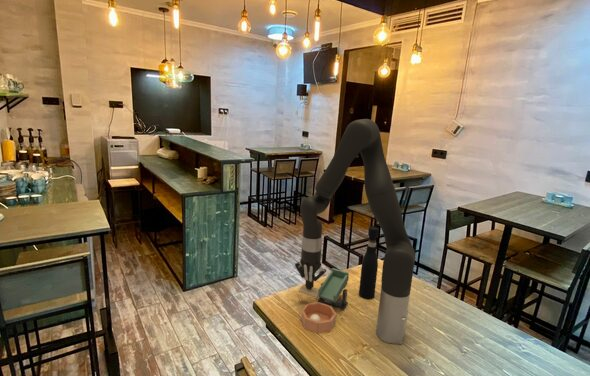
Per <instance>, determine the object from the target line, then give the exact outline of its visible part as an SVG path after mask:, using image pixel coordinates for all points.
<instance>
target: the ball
mask: <svg viewBox="0 0 590 376" xmlns="http://www.w3.org/2000/svg"><path fill="white" fill-rule="evenodd" d="M310 319H312V320H315V321H318V322H320V321H321V319H320V317H319V316H318V315H317V314H313V315H311V316H310Z"/></svg>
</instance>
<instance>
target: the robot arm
mask: <svg viewBox="0 0 590 376" xmlns="http://www.w3.org/2000/svg"><path fill="white" fill-rule="evenodd" d="M383 148H384V147H383V143H382V138H381V131H380V129H379V126H378V124H377V123H376V122H375V121H373V120H371V119H369V118H363V119H356V120H354V121H351V122H350V123H349V124H348V125H347V127H346V128H345V131H344V133H343V134H342V137H341V139H340V141H339V145H338V146H337V148H336V151H335V153H334V155H333V156H332V158H331V160H330V162H329V164H328V166H327V167H326V168H325V170H324V172H323V173H322V175H321V176H320V178H319V179H318V181H317V182H316V184H315V187H314V189H315V193H314V194H313V195H312V196H307V197H304V199H303V200H301V201H302V202H301V203H300V215H301V221H302V224H303V228H302V230H303V231H302V238H301V255H300V256H301V257H300V258H301V259H300V260H299V261H297V262H296V263H295V264H294V266H295V269H296V270H297V272H298V273H299V275H300V277H301V278H302V279H303V278H304V279H305V286H306V289H309V290H311V289H312V288H313V287H314V283H315V282H317V281H318V280H319V279H320V278H322V276H323V275H325V274H326V272H327V269H326V268H324V267H322V262H321V261H322V246H323V244H322V243H323V241H322V240H323V239H322V235H323V224H322V221H321V220H319V219H318V215H320V214H322V213H323V212H325V211H326V210H327V208H328V207H329V206H330V203H331V201H332V198H333V195H334V194H335V192H336V191H337V190H338V188H339V187H340V185H341V184H342V182H343V180H344V178H345V176H346V174H347V172H348V170H349V167H350V166H351V163H352V162H353V161H354V160H355V158H356V157H357V156H358V155H359V154H360V156H361V159H362V162H363V171H364V172H363V173H364V174H363V175H364V176H363V177H364V178H363V179H364V191H365V196H366V199H367V203H368V205H369V208H370V211H371V213H372V215H373V217H374V218H375V220H376V221H377V223H378V225H379V226H380V229H381V230H382V233H383V236H384V237H383V238H384V241H385V248H386V251H385V253H384V257H383V262H382V271H381V280H380V281H381V285H380V287H381V288H380V296H379V304H378V311H377V312H378V313H377V318H376V320H377V321H376V326H375V327H376V329H375V333H376V336H377V338H379V339H380V340H381V341H382V342H385V343H386V344H387V343H388V344H396V345H397V344H399V345H403V342H404V338H405V336H406V330H407V323H408V316H409V304H410V303H409V302H410V296H411V290H412V282H413V276H414V269H415V261H416V252H415V249H414V247H413V244H412V243H411V240H410V237H409V234H408V233H407V230H406V227H405V224H404V220H403V215H402V210H401V206H400V201H399V198H398V195H397V191H396V187H395V185H394V181H393V179H392V175H391V173H390V170H389V167H388V163H387V161H386V157H385V153H384V149H383ZM317 272H318V274H317V275H316V273H317Z"/></svg>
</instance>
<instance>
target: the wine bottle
mask: <svg viewBox="0 0 590 376" xmlns="http://www.w3.org/2000/svg"><path fill="white" fill-rule="evenodd" d="M379 230H380V229H379V227H377V226H373V225H372V226H369V227H368V234H367V236H368V237H369V239H368V241H367V245H366V251H365V253H364V255H363V259H362V261H361V268H360V270H361V271H360V278H359V287H358V295H359V297H360V298H362V299H364V300H372V299H375V293H376V285H377V277H378V267H379V264H378V263H379V262H378V256H377V248H378V247H377V238H378V237H379Z"/></svg>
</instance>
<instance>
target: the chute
mask: <svg viewBox="0 0 590 376" xmlns="http://www.w3.org/2000/svg"><path fill="white" fill-rule="evenodd" d="M349 274H350V272H349V271H348V272H347V271H345V270H341V269H338V268H333V267H332V268H331V271H330V272H329V274H328V275H327V277H326V278H325V280H323V282H322V283H323V284H322V283H321V284H322V285H321V284H320V287H319V288H316V287H314V286H313V288H312V289H311V290H309V289H306V286H305V284H306V283H305V284H304V283H303V284H302V285H301V287H300V288H299V289H298V293H300V294H303V295H306V296H307V297H308V296H309V297H311V298H315V299H319V297H320V298H323V299H326V300H329V301H332V302H335V303H336V301H337V299H339V297H340V296H341V294H342V293H343V290H344V289H346V286H347V285H348V282H349Z"/></svg>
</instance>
